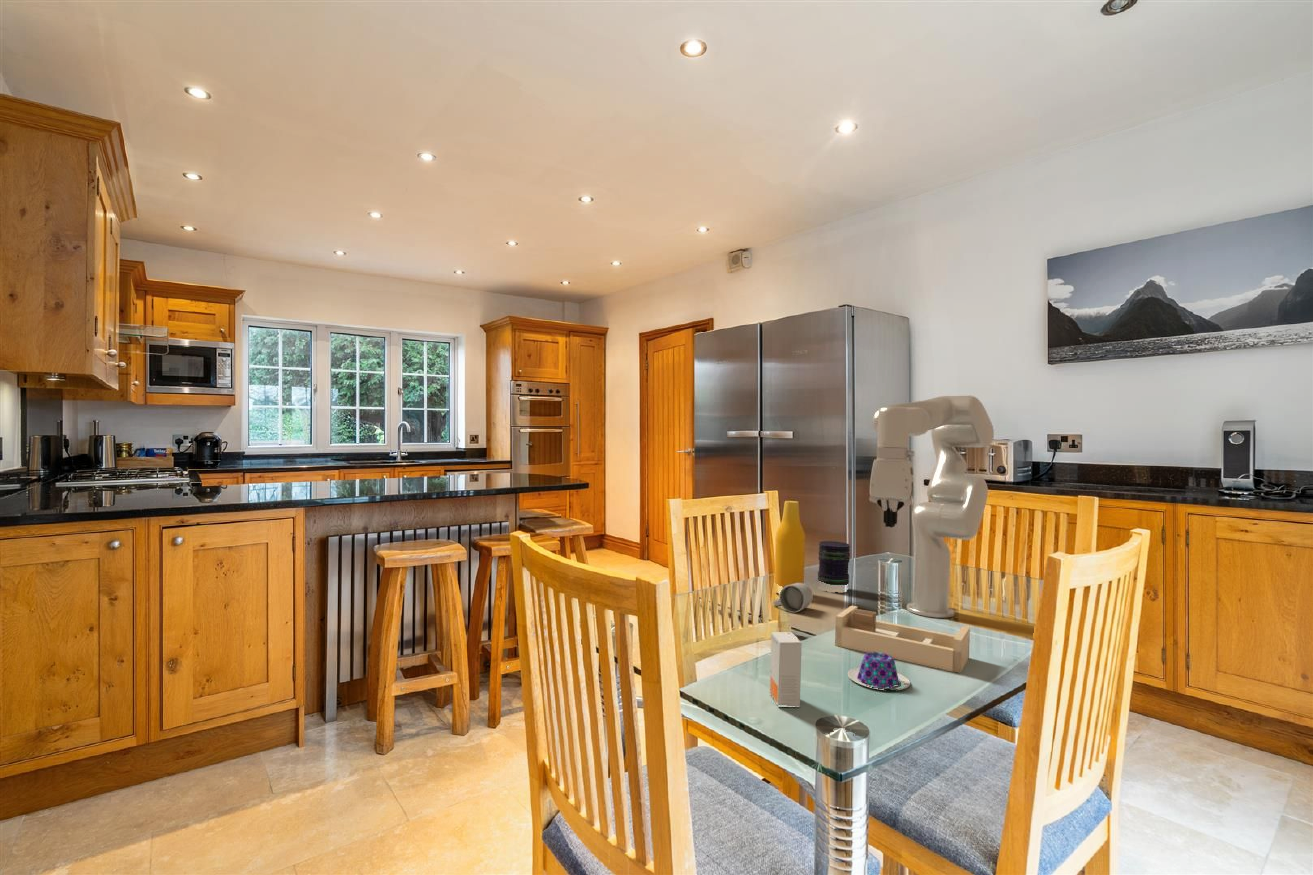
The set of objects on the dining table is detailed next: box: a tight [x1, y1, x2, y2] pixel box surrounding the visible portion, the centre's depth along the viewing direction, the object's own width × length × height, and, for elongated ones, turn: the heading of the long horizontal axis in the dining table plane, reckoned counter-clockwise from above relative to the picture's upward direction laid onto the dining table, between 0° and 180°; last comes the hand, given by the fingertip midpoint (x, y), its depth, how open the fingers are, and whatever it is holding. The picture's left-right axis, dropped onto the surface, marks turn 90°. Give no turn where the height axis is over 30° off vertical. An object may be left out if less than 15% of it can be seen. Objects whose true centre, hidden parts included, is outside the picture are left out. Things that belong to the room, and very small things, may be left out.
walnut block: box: [852, 609, 877, 632], centre depth 148 cm, size 4×4×4 cm
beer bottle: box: [773, 500, 806, 588], centre depth 195 cm, size 9×9×29 cm
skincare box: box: [769, 631, 803, 707], centre depth 115 cm, size 6×4×12 cm
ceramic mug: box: [772, 583, 814, 614], centre depth 178 cm, size 11×8×8 cm
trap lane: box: [834, 605, 971, 674], centre depth 144 cm, size 12×27×7 cm, turn 55°
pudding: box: [847, 652, 911, 691], centre depth 126 cm, size 12×12×5 cm
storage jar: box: [817, 540, 851, 585], centre depth 202 cm, size 10×10×15 cm
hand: (890, 526), depth 158 cm, fingers closed
